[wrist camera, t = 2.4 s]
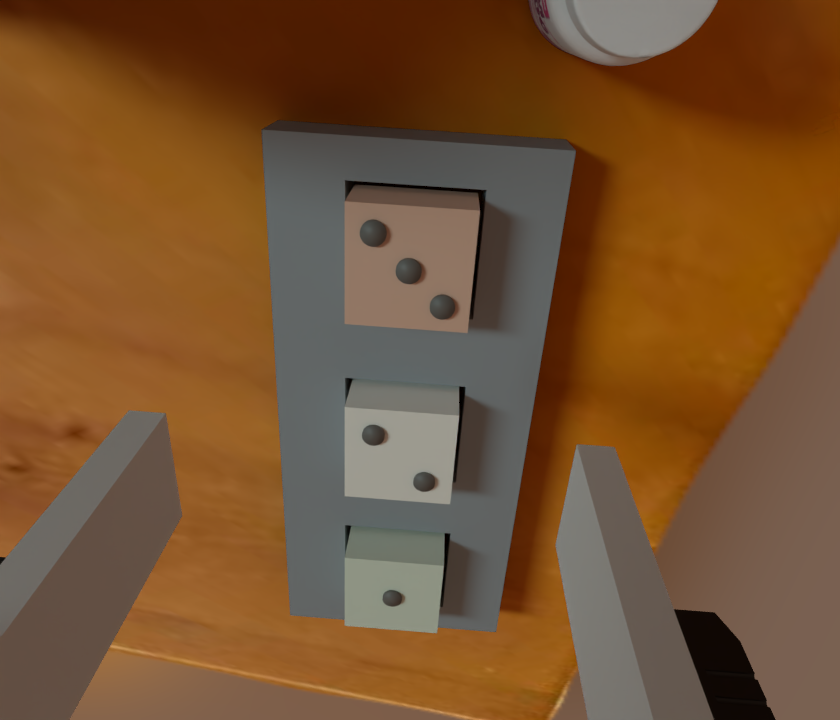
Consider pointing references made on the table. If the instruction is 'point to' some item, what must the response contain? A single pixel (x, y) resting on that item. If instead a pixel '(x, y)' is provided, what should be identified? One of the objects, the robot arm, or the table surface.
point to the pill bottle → (619, 27)
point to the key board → (408, 346)
